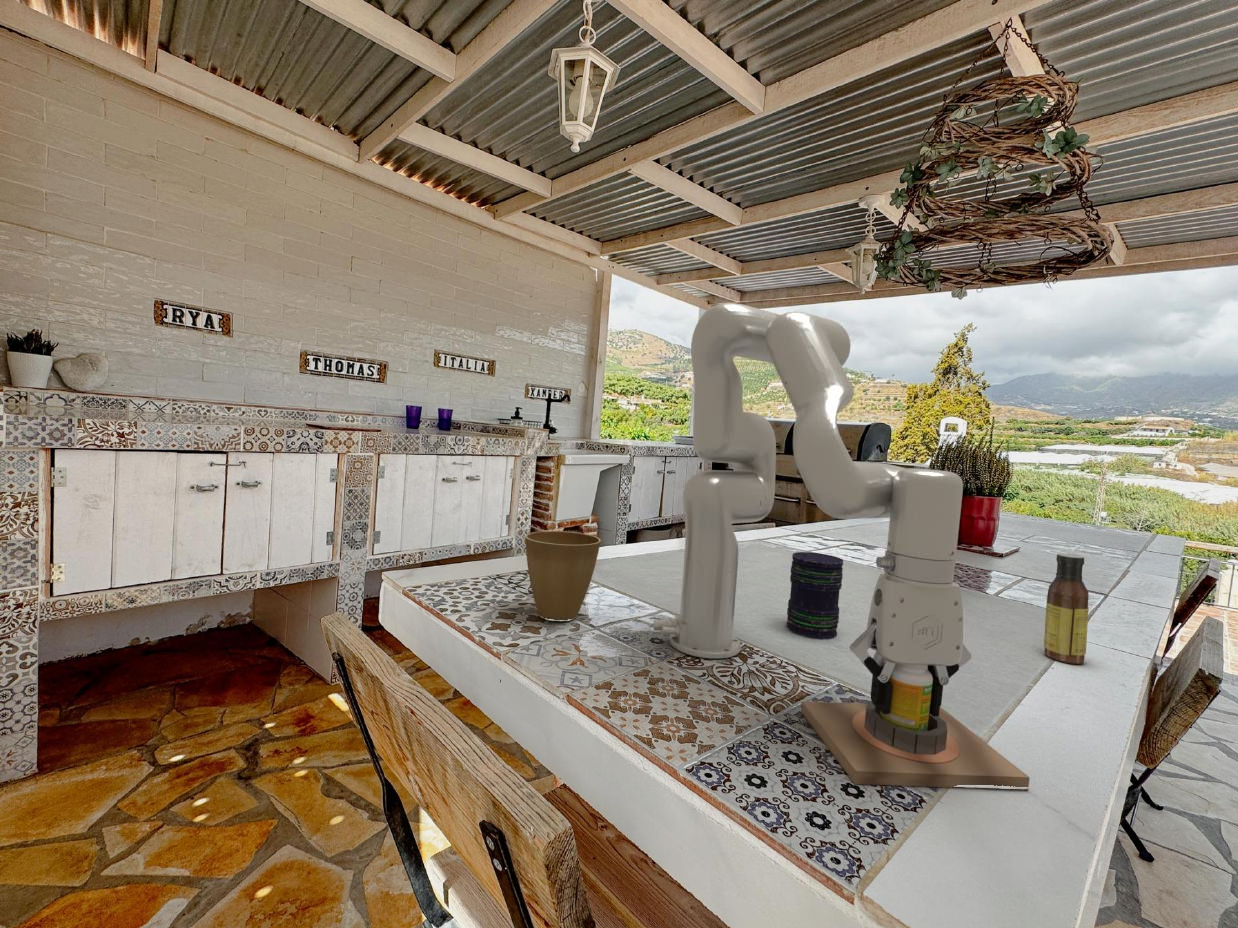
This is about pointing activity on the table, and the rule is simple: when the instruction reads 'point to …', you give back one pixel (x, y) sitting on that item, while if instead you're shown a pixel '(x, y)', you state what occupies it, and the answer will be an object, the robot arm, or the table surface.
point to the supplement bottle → (910, 697)
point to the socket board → (905, 770)
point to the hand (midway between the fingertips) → (904, 708)
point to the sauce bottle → (1067, 612)
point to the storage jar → (814, 595)
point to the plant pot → (560, 571)
